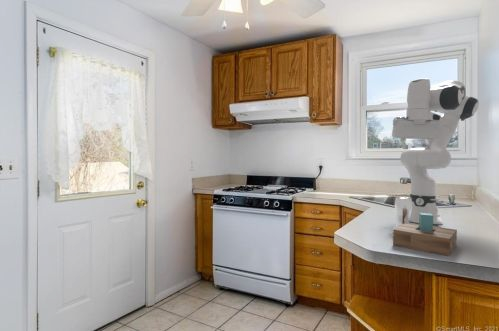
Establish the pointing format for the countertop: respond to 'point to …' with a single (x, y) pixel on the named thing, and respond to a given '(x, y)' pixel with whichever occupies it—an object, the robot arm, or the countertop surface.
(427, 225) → the peg
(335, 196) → the countertop surface
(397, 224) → the beer glass
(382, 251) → the countertop surface
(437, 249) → the socket block
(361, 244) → the countertop surface
